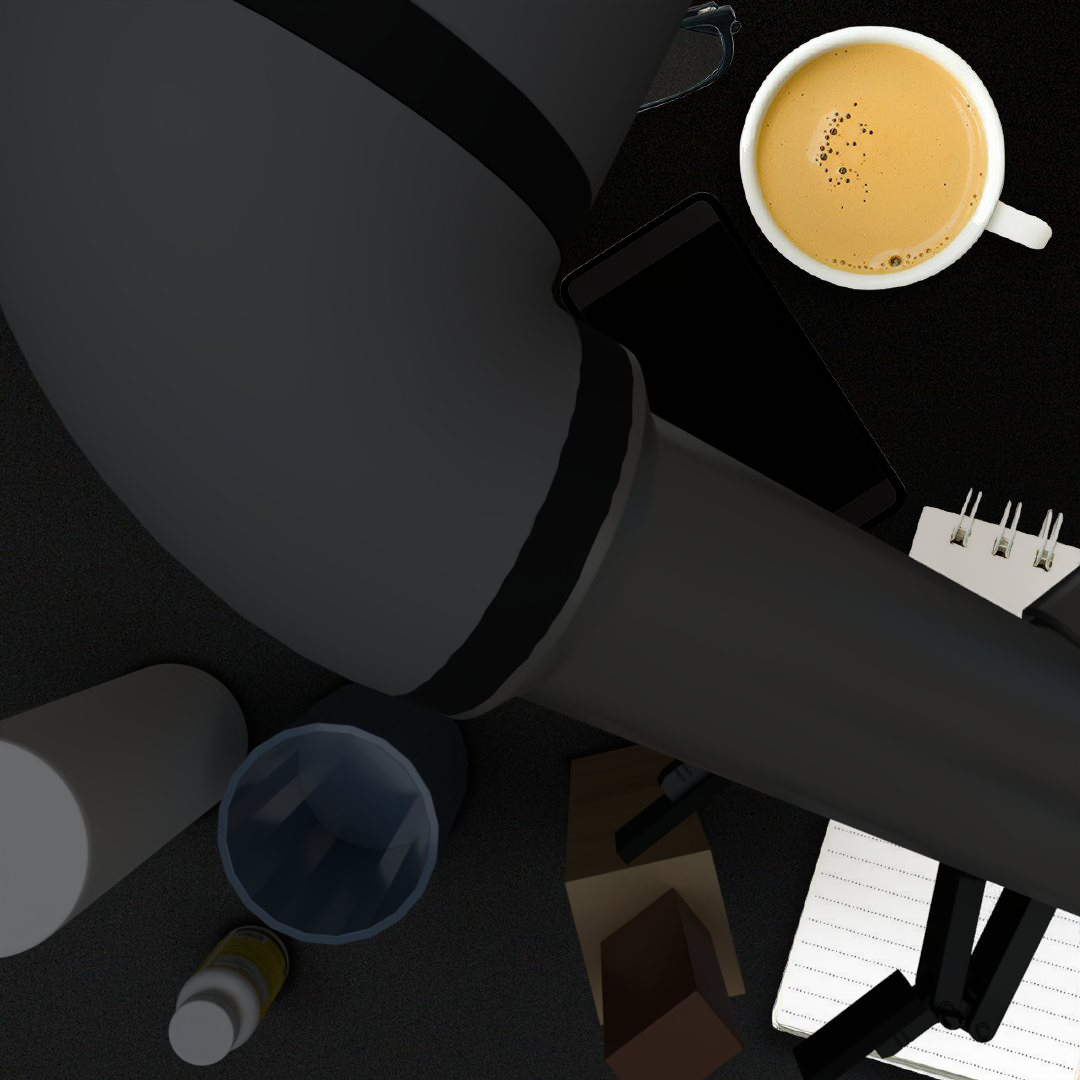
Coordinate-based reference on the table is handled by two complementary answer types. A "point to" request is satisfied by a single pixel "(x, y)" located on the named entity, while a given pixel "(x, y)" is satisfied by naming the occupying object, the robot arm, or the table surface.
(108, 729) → the cylinder
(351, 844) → the bin
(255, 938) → the pill bottle
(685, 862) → the stand
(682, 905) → the chocolate box
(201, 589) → the table surface
